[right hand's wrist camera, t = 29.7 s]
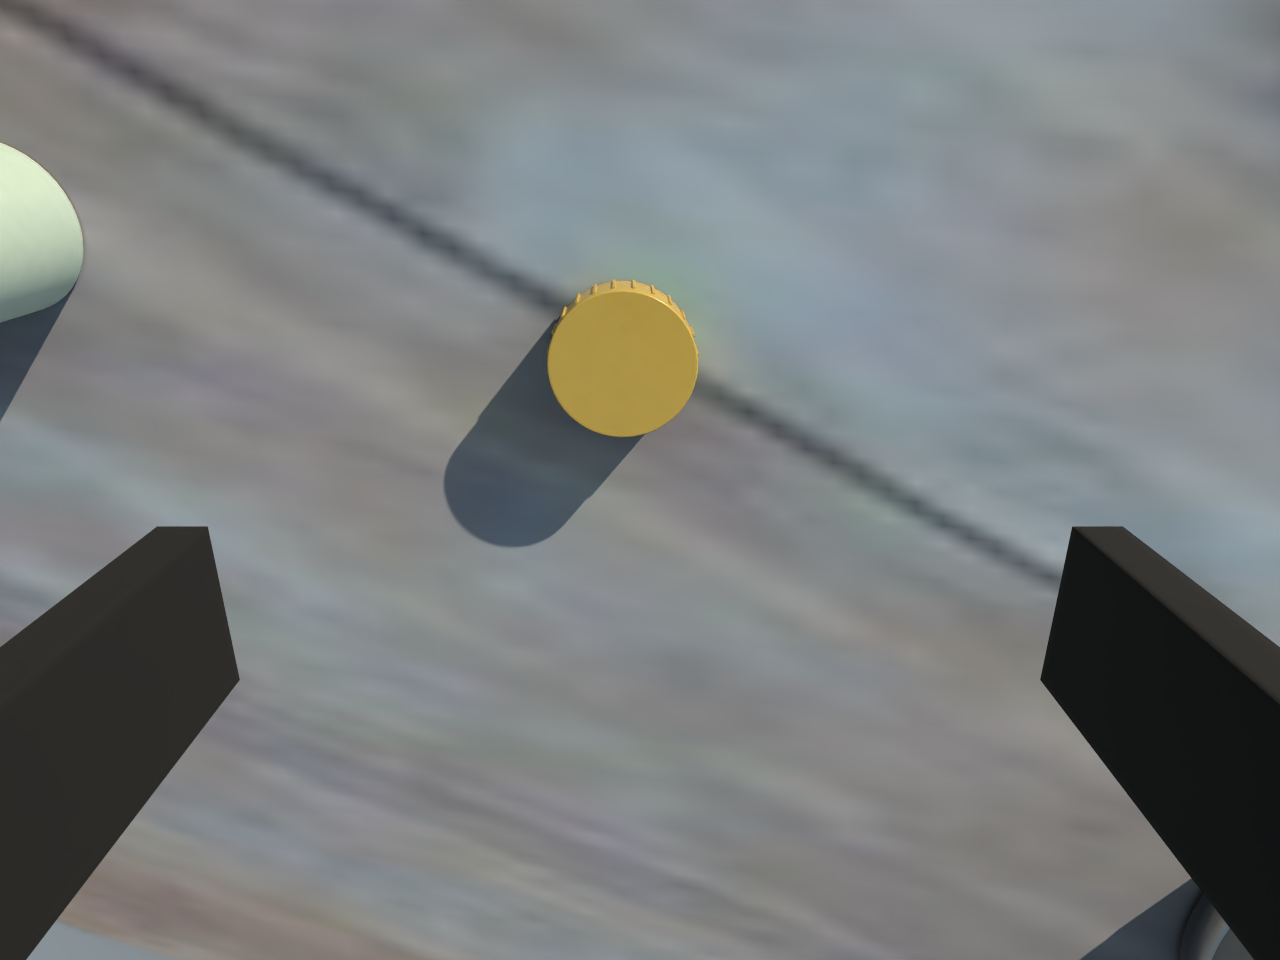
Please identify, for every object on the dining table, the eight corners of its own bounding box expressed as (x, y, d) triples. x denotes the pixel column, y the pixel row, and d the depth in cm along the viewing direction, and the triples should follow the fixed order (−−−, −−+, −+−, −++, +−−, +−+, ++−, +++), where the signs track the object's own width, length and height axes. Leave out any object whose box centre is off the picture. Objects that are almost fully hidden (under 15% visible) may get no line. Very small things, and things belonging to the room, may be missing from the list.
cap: (646, 445, 26) (647, 464, 25) (524, 376, 25) (518, 391, 24) (723, 328, 25) (729, 341, 23) (596, 250, 24) (594, 258, 22)
